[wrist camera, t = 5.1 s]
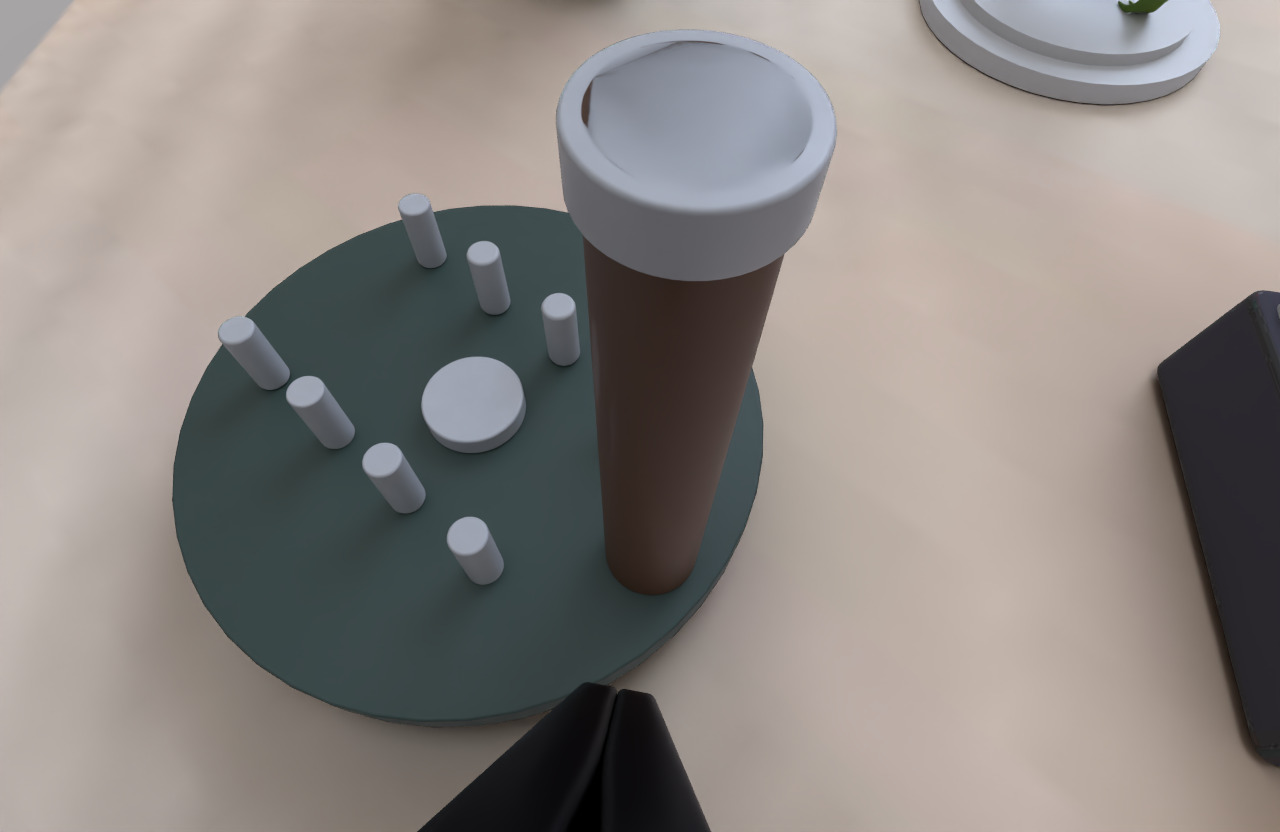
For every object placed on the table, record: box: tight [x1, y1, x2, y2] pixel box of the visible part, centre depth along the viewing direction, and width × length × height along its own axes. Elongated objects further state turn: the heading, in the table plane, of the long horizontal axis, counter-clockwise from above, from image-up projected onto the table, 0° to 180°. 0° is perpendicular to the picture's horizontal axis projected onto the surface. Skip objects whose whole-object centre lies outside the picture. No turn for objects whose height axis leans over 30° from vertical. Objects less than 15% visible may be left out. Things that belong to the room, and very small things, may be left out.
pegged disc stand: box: [172, 30, 837, 727], centre depth 13 cm, size 14×14×12 cm
